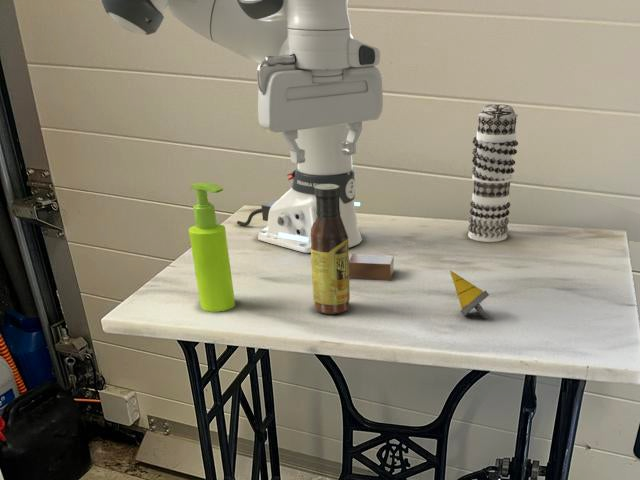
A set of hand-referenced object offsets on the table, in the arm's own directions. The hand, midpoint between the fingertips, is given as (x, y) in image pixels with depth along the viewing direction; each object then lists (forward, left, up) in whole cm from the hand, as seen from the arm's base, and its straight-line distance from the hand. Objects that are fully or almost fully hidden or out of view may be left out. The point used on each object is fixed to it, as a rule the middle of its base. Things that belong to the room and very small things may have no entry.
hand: (324, 158), depth 112 cm
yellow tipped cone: (+22, +8, -24) cm, 34 cm away
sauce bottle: (0, 0, -24) cm, 24 cm away
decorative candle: (+9, +51, -24) cm, 57 cm away
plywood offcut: (-2, +18, -24) cm, 30 cm away
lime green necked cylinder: (-18, -8, -24) cm, 31 cm away
